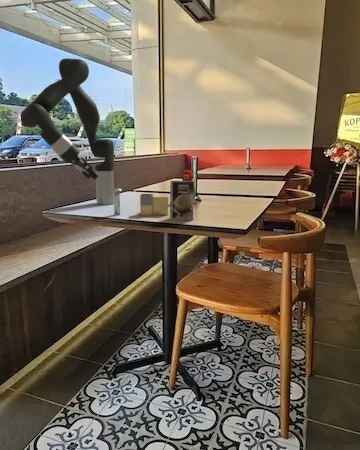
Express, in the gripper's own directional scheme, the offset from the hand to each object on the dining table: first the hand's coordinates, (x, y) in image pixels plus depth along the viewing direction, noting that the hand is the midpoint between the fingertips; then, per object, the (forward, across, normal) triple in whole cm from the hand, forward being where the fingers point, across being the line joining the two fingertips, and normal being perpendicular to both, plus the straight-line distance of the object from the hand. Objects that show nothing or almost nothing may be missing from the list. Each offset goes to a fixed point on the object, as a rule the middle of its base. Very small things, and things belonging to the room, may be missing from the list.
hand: (93, 177), depth 154 cm
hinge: (+31, -4, -9) cm, 32 cm away
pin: (+19, +1, +4) cm, 20 cm away
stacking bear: (+51, +16, -31) cm, 62 cm away
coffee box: (+34, -21, -11) cm, 41 cm away
